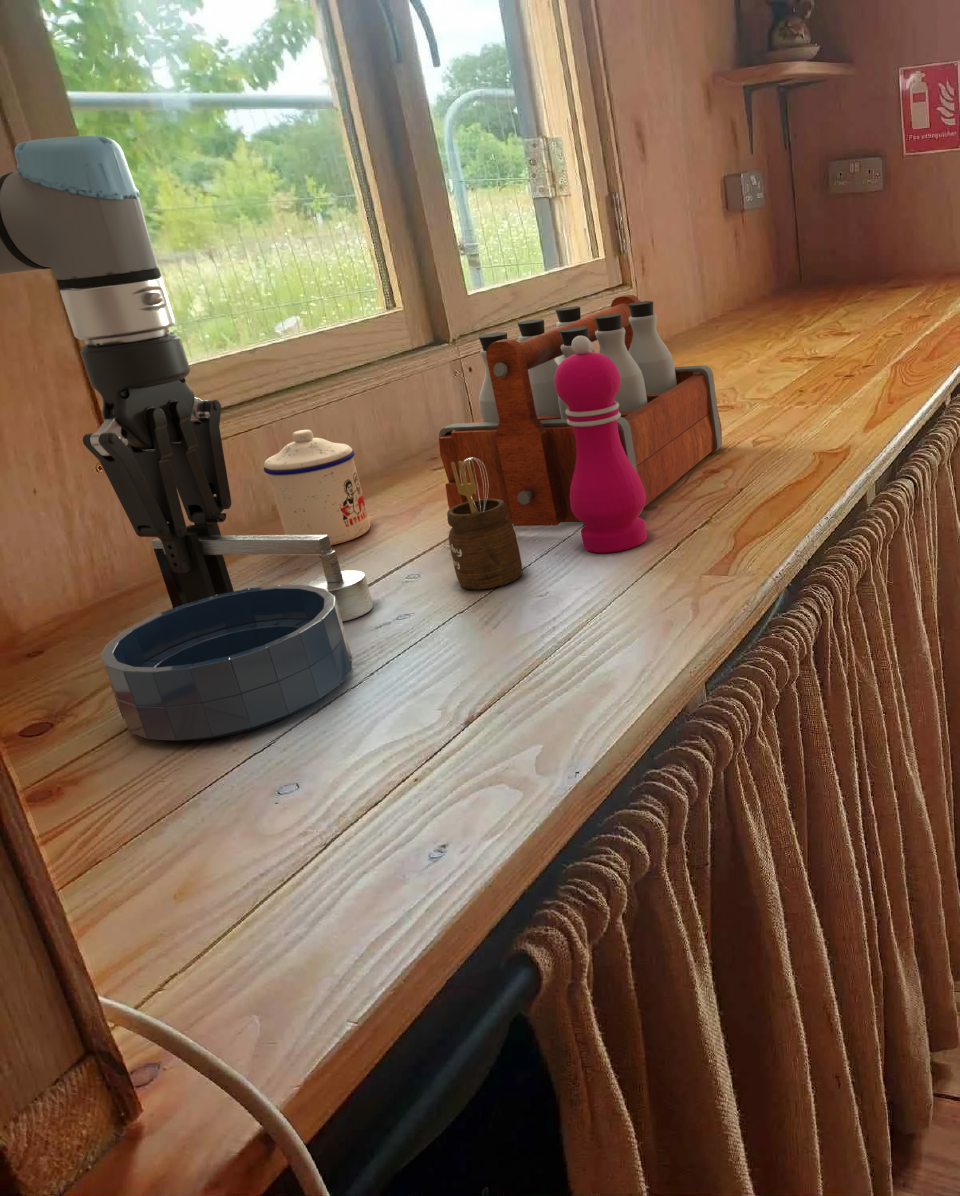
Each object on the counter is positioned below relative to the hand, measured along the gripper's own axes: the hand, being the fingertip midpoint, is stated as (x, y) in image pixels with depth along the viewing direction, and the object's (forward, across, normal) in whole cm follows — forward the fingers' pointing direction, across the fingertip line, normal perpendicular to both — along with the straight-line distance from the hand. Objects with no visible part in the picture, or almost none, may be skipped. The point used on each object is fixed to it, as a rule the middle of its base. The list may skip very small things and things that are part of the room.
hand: (210, 597), depth 102 cm
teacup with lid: (+2, +22, +4) cm, 22 cm away
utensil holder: (+1, +8, -24) cm, 26 cm away
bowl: (+1, -16, -17) cm, 24 cm away
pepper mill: (+1, +18, -32) cm, 37 cm away
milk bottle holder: (+1, +38, -21) cm, 44 cm away
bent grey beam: (+1, 0, -6) cm, 6 cm away
